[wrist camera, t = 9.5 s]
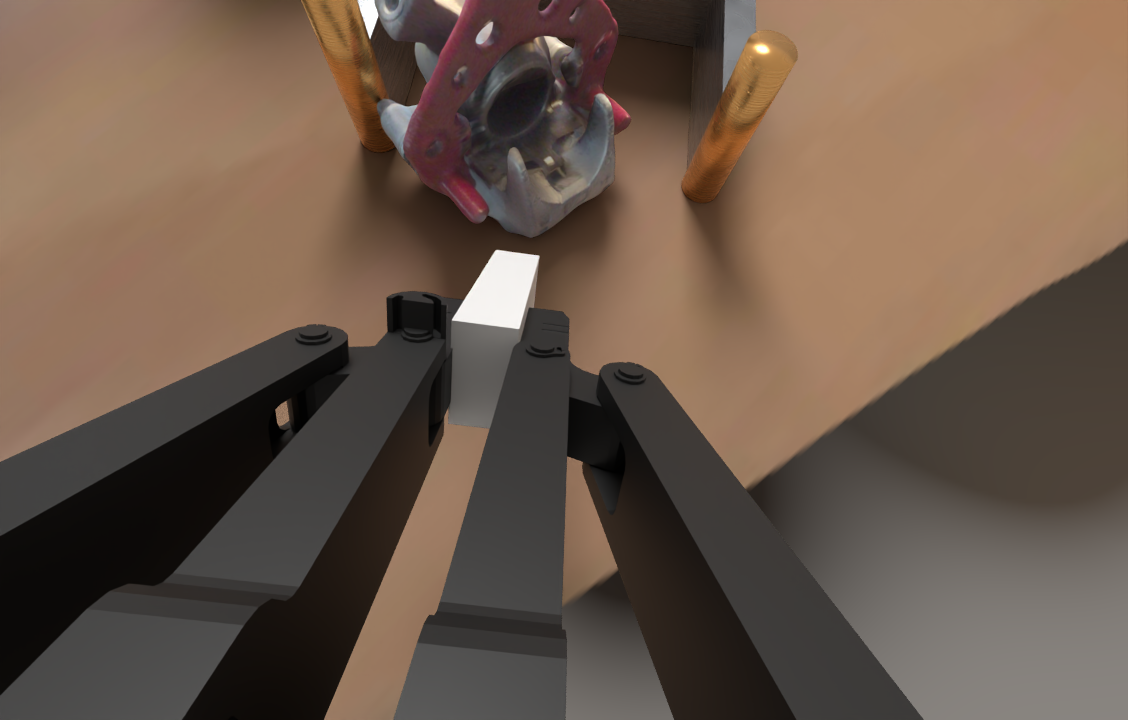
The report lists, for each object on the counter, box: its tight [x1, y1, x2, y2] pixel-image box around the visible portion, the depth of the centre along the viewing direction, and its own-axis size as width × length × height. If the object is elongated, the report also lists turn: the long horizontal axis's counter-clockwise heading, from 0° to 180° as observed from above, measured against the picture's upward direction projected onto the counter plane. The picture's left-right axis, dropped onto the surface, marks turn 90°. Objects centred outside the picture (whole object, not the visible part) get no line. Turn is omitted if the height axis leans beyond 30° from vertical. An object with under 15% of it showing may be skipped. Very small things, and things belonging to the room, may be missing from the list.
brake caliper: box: [374, 0, 631, 238], centre depth 22 cm, size 11×11×12 cm
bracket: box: [301, 0, 798, 203], centre depth 24 cm, size 19×12×8 cm, turn 83°
